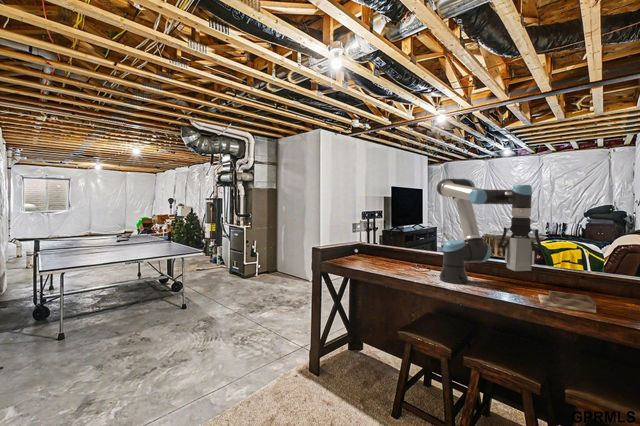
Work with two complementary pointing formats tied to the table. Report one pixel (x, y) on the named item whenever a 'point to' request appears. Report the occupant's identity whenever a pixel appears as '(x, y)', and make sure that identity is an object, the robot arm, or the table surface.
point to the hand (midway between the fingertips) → (519, 263)
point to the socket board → (568, 301)
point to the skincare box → (519, 254)
